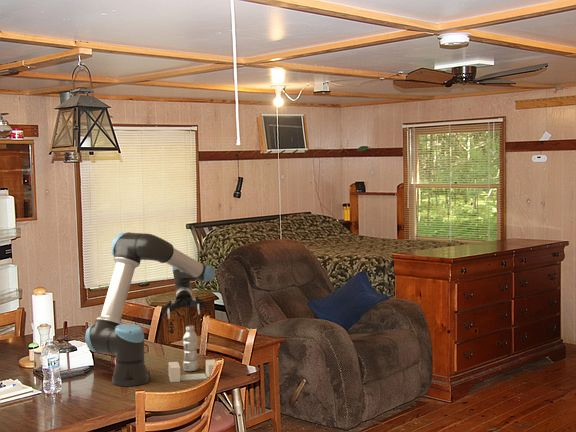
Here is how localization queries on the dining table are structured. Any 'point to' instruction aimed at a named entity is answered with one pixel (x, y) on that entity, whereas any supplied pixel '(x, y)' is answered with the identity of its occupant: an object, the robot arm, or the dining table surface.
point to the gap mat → (193, 377)
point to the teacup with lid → (37, 357)
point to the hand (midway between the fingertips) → (183, 313)
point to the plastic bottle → (190, 349)
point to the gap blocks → (175, 370)
